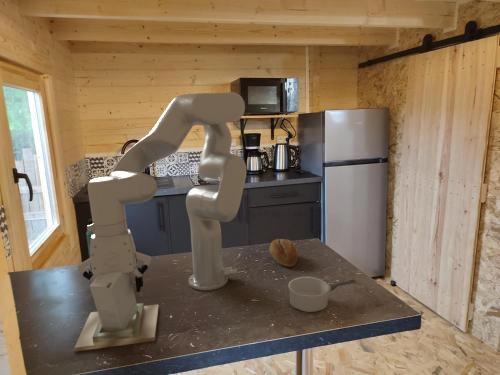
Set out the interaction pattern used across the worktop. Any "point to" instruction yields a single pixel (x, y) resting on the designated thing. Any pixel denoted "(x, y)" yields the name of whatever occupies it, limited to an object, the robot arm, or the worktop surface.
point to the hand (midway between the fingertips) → (119, 291)
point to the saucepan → (311, 293)
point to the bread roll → (284, 252)
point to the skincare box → (114, 300)
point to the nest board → (136, 332)
